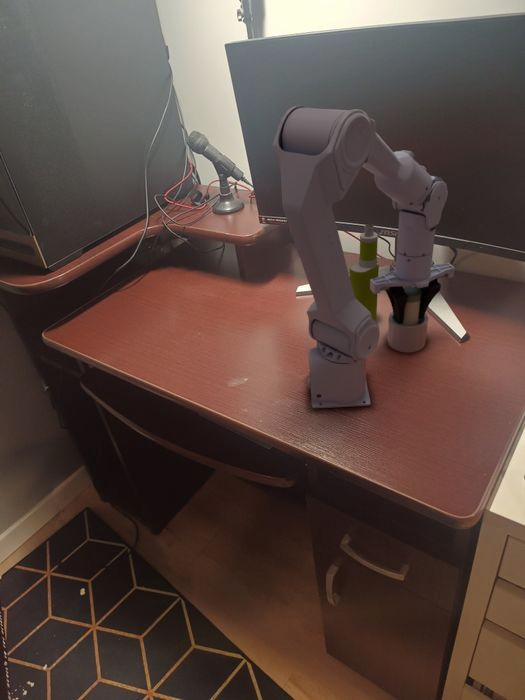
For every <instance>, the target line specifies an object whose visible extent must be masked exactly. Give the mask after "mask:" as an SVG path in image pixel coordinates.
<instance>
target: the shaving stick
mask: <svg viewBox="0 0 525 700" xmlns="http://www.w3.org/2000/svg"><path fill="white" fill-rule="evenodd" d="M403 289H405V290H404V292H405V293H406V294H407V295H408V296H409V297H408V299H407V302H406V305H405V309H404V320H403V323H401V324H400V325H403V326H416V325H418V318H419V308H420V299H421V293H422V291H421V290H420V289H419V288H417V287H415V286H403ZM398 324H399V323H398Z"/></svg>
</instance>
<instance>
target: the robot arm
mask: <svg viewBox="0 0 525 700" xmlns="http://www.w3.org/2000/svg"><path fill="white" fill-rule="evenodd" d="M376 123H377V121H375V120H374V119H373V118H371V117H369V116H368V114H367V113H366V112H365V111H364V110H362V109H357V108H355V109H349V110H347V109H330V108H319V107H318V108H316V107H315V108H314V107H306V106H304V105H295V106H292V107H290V108H289V109H287V110H286V112H285V113H284V114H283V115H282V117H281V120H280V122H279V123H278V127H277V130H276V133H275V136H274V139H273V142H272V144H271V145H272V149H273V152H274V156H275V158H276V161H277V164H278V169H279V171H280V178H281V179H280V180H281V181H280V182H281V203H282V209H283V212H284V215H285V219H286V221H287V224H288V228H289V230H290V233H291V236H292V239H293V241H294V244H295V248H296V250H297V253H298V257H299V259H300V262H301V266H302V268H303V270H304V274H305V276H306V279H307V282H308V286H309V288H310V291H311V294H312V296H313V300H314V301H313V302H312V303H311V304H310V305H309V307H308V308H307V310H306V314H307V317H308V327H307V328H308V335H309V337H310V338H311V339H313V340H314V341H316V346H314V347H310V348H308V349H307V350H308V351H307V353H308V369H309V377H307V384H308V389H310V400H311V408H312V409H329V408H350V407H351V408H352V407H369V406H371V397H370V393H369V389H368V383H367V379H366V378H367V358H368V357H370V356H371V355H372V353H374V351H375V350H376V348H377V346H378V344H379V340H380V336H381V335H380V332H381V331H380V327H379V323H377V322H376V321H374V320H373V319H372V316H371V313H370V312H369V311H368V310H367V309H366V308H365V307H364V306H363V305H362V304H361V303H360V302H359V301H358V300H357V299H356V298H355V297H354V293H353V289H352V285H351V281H350V272H349V270H348V266H347V261H346V258H345V253H344V250H343V245H342V242H341V238H340V234H339V230H338V225H337V222H336V218H335V214H334V212H333V204H335V203H337V202H339V201H341V200H343V199H344V198H345V196H346V195H347V193H348V192H349V189H350V188H351V186H352V185H353V183H354V181H355V180H356V177H357V176H358V174H359V173H360V171H361V169H362V168H364V169H365V170H366V171H368V172H370V173H371V174H373V175H374V183H375V186H376V187H377V189H378V190H379V191H381V193H383V194H384V195H386V196H387V197H389V198H390V199H391V205H392V207H393V209H394V210H399V212H398V213H399V214H398V226H397V227H398V228H397V242H396V243H397V244H396V256H395V269H393V270H391V271H388V272H387V273H384V274H381V275H380V276H378V277H377V278H374V279H370V289H371V291H372V292H373V293H374V294H377V295H379V294H380V293H381V291H385V292H386V295H387V297H388V299H389V301H390V306H391V309H392V311H393V313H394V319H395V320H396V321H397V322H398V323H399V324H401V323H403V320H404V309H405V305H406V302H407V299H408V297H409V296H408V295H407V294H406V293H405V292H404V290H405V289H403V288H404V287H409V286H412V287H417V288H419V289H420V290H421V291H422V293H421V299H420V308H419V319H423V317H424V314H425V313H426V312H427V310H428V308H429V306H430V304H431V302H432V301H433V300H434V298H435V297H436V296H437V295H438V294H439V293H440V292H441V289H442V284H441V283H440V282H438V279H443V278H447V279H452V278H454V277H455V269H456V267H454V266H453V265H452V264H451V263H450V262H446V263H438V264H437V263H433V254H434V245H435V238H436V229H437V226H438V225H439V224H440V221H441V218H442V213H443V209H444V207H445V205H446V202H447V200H448V195H449V191H448V186H447V183H446V182H445V181H444V180H443V178H442V177H440V176H434V175H430V173H429V172H427V168H426V167H425V166H424V165H421V164H419V162H417V161H416V160H415V159H414V157H415V154H414V153H413V151H411V150H398V151H393V150H392V148H390V147H389V146H388V144H387V143H386V142H385V141H384V140H383V138H382V137H381V136H380V135H379V134H378V133H377V124H376Z"/></svg>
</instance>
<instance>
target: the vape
mask: <svg viewBox="0 0 525 700" xmlns="http://www.w3.org/2000/svg"><path fill="white" fill-rule="evenodd" d="M374 229H375V226H374V224H372V223H367V224H365V225H364V232H362V233H360V235H359V258H358V259H359V260H358V261H357V262H355V263H353V264H351V265H349V277H350V281H351V285H352V289H353V293H354V297H355V298H356V299H357V300H358V301H359V302H360V303H361V304H362V305H363V306H364V307H365V308H366V309H367V310H368V311H369V312H370V313H371V316H372V319H373V320H374V321H375V322H376V321H377V314H378V294H374V293H373V292H372V291H371V289H370V279H374V278H377V277H379V271H380V270H379V269H380V262H379V261H378V240H379V234H378V233H377V232H375V231H374Z"/></svg>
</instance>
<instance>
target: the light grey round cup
mask: <svg viewBox="0 0 525 700" xmlns="http://www.w3.org/2000/svg"><path fill="white" fill-rule="evenodd" d="M387 323H388V324H387V344H388V346H389V347H390V348H391V349H393V350H394V351H397V352H401V353H416V352H418V351H420V350H422V349H423V348H424V347H425V345H426V340H427V334H428V325H429V317H428V314H427V313H426V312H425V314H424V317H423V319H419V318H418V325H416V326H403V325H400V324H398V322H397V321H396V320H395V319H394V313H393V310H392V311H391V312H390V313H389V315H388V322H387Z"/></svg>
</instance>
